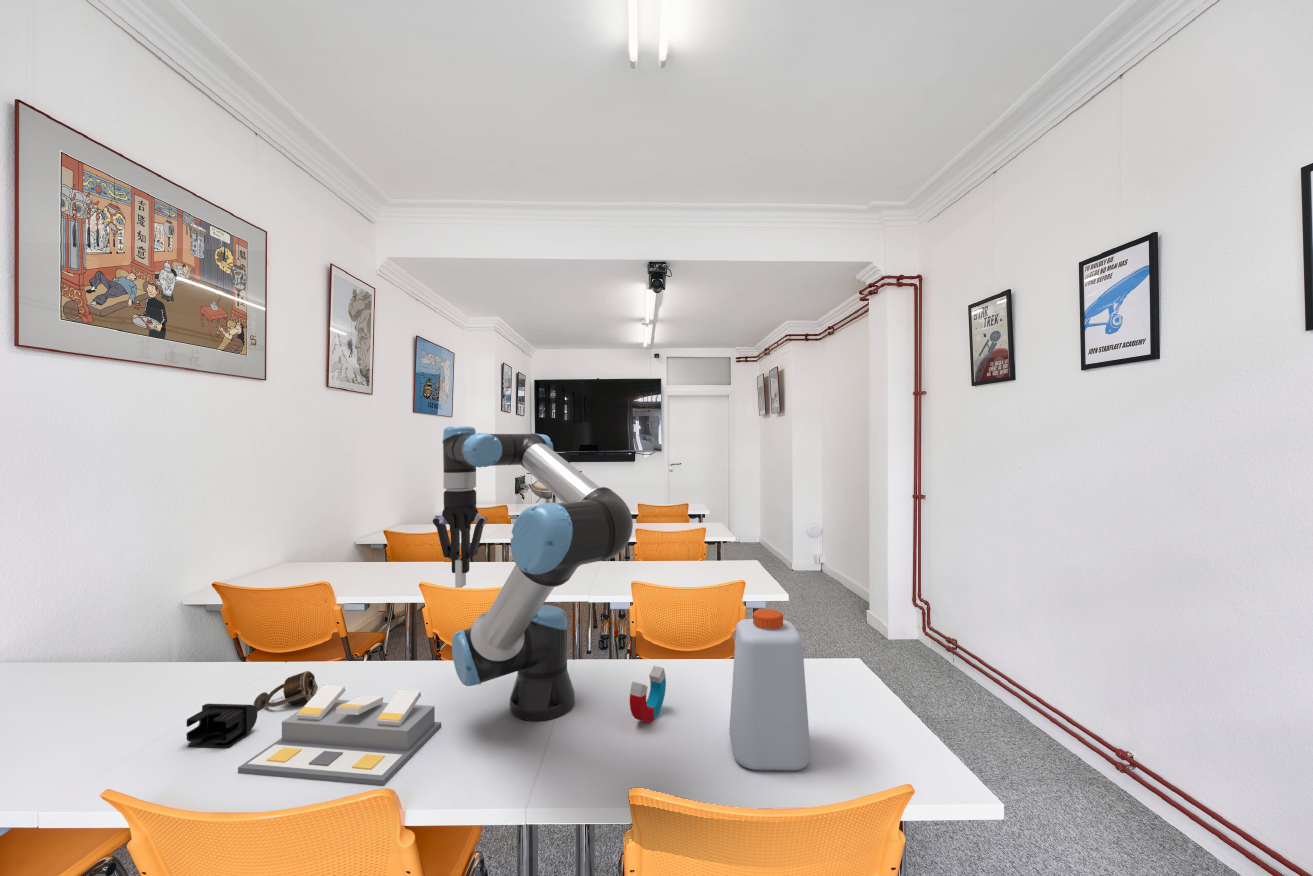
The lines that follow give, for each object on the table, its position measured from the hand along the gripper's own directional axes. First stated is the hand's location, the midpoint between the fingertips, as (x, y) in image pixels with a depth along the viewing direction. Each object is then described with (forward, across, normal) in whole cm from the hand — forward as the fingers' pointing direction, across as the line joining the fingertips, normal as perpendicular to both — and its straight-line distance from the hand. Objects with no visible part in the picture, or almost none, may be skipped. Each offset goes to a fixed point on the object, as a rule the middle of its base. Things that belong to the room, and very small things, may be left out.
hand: (460, 586), depth 129 cm
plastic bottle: (+29, -71, +18) cm, 79 cm away
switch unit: (+28, +15, +21) cm, 38 cm away
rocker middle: (+21, +15, +17) cm, 31 cm away
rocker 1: (+21, +24, +16) cm, 35 cm away
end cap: (+28, +44, +18) cm, 55 cm away
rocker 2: (+21, +6, +18) cm, 28 cm away
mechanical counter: (+28, +42, +3) cm, 50 cm away
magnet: (+28, -46, +7) cm, 55 cm away
